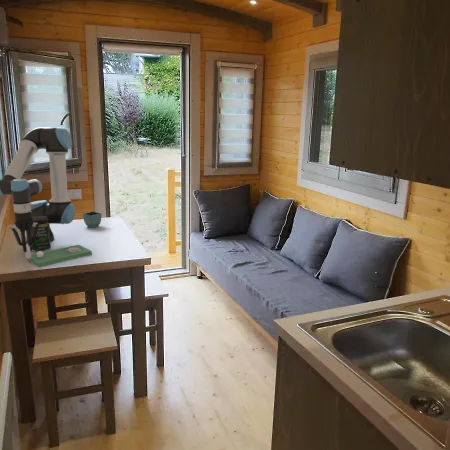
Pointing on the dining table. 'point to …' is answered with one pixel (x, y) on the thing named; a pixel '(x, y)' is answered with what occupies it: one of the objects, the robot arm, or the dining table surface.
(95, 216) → the flower pot
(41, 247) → the coffee jar
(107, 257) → the dining table surface
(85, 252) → the mat
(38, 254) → the ball
